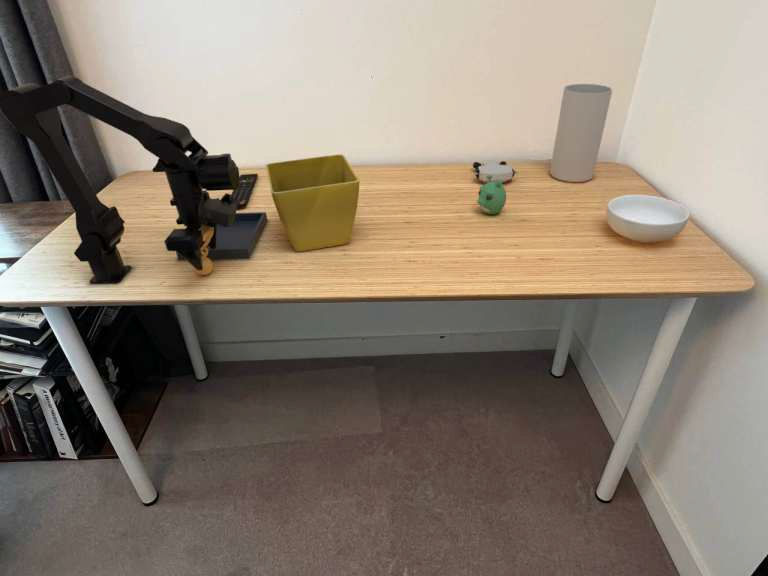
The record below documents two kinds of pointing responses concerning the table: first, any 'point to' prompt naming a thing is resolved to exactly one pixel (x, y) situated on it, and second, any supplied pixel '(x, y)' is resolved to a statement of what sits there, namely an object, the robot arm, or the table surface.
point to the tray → (237, 237)
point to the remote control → (244, 190)
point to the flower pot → (315, 200)
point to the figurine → (206, 261)
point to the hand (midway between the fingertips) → (207, 258)
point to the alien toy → (492, 196)
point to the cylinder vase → (579, 131)
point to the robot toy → (493, 170)
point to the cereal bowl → (646, 218)
